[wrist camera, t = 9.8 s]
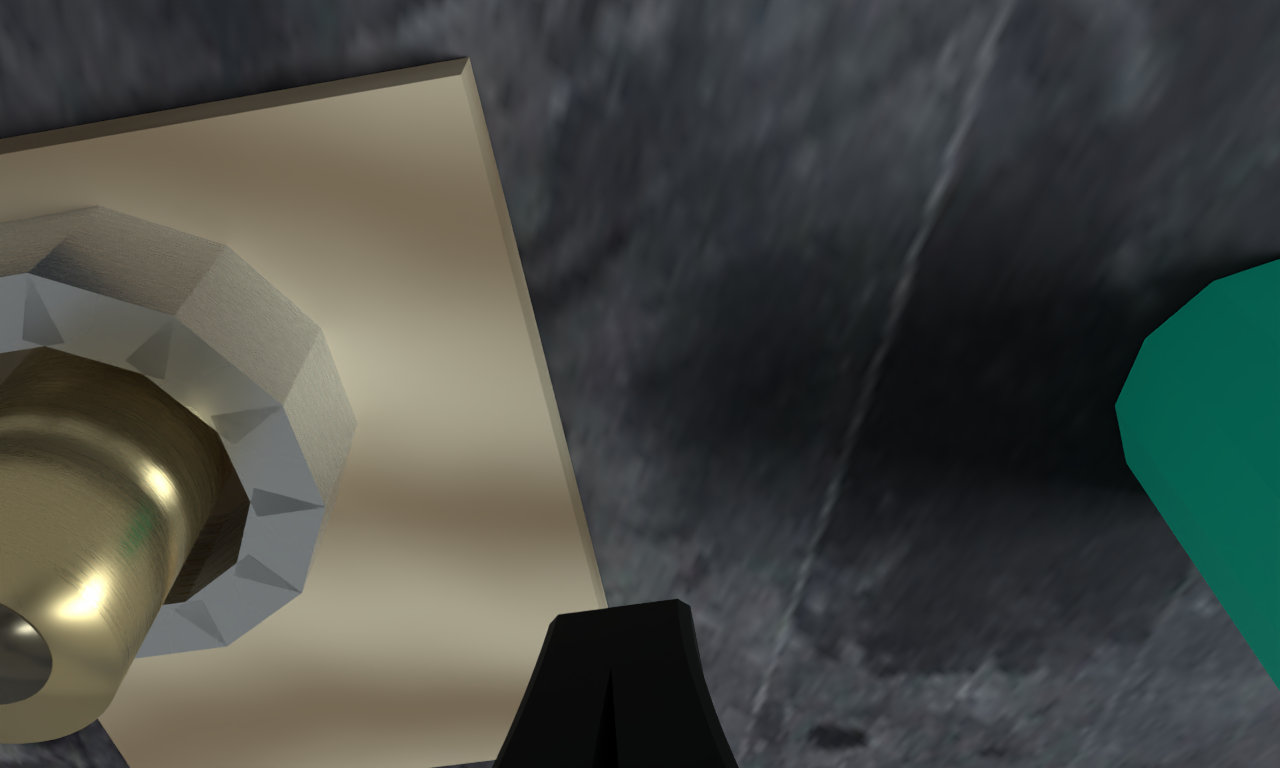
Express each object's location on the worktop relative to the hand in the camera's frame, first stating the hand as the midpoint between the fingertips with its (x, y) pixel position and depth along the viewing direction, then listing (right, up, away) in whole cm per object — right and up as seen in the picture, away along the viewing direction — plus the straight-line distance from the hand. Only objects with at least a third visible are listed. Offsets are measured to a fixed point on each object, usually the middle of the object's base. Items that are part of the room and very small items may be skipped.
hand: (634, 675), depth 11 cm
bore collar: (-9, +3, +10) cm, 14 cm away
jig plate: (-7, +1, +11) cm, 13 cm away
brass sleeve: (-9, +3, +9) cm, 13 cm away
